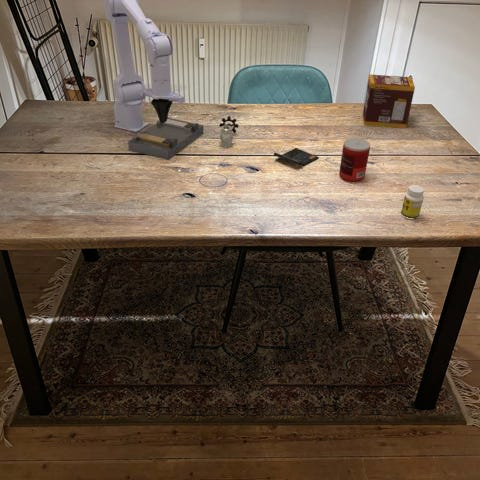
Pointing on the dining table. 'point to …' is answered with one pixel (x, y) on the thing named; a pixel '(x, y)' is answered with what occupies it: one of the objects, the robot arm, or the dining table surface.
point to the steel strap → (178, 124)
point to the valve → (227, 132)
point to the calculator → (298, 157)
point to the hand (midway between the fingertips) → (163, 121)
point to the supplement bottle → (413, 201)
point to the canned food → (354, 159)
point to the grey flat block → (177, 135)
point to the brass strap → (154, 139)
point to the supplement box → (388, 101)
